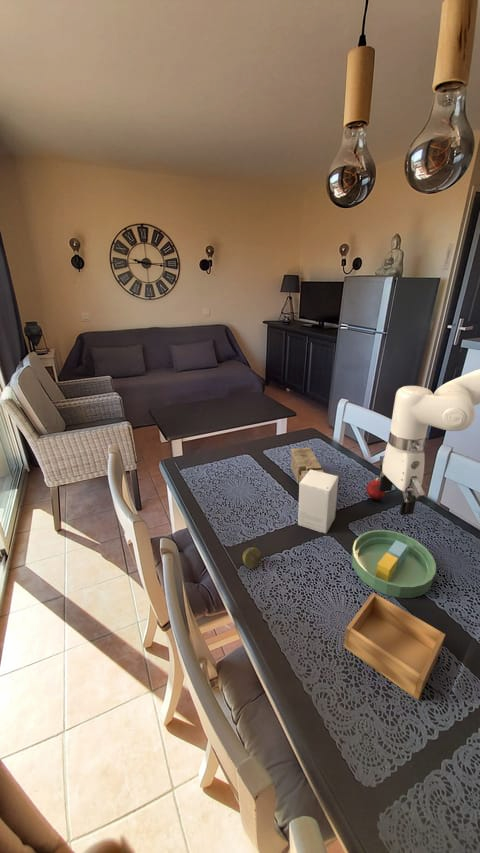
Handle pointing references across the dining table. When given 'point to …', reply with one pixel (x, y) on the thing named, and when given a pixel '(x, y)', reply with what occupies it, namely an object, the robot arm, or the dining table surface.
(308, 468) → the block tower
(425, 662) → the holder
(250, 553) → the lime
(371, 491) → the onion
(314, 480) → the white product box
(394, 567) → the yellow small block
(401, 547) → the light blue block
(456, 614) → the dining table surface
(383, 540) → the bowl
